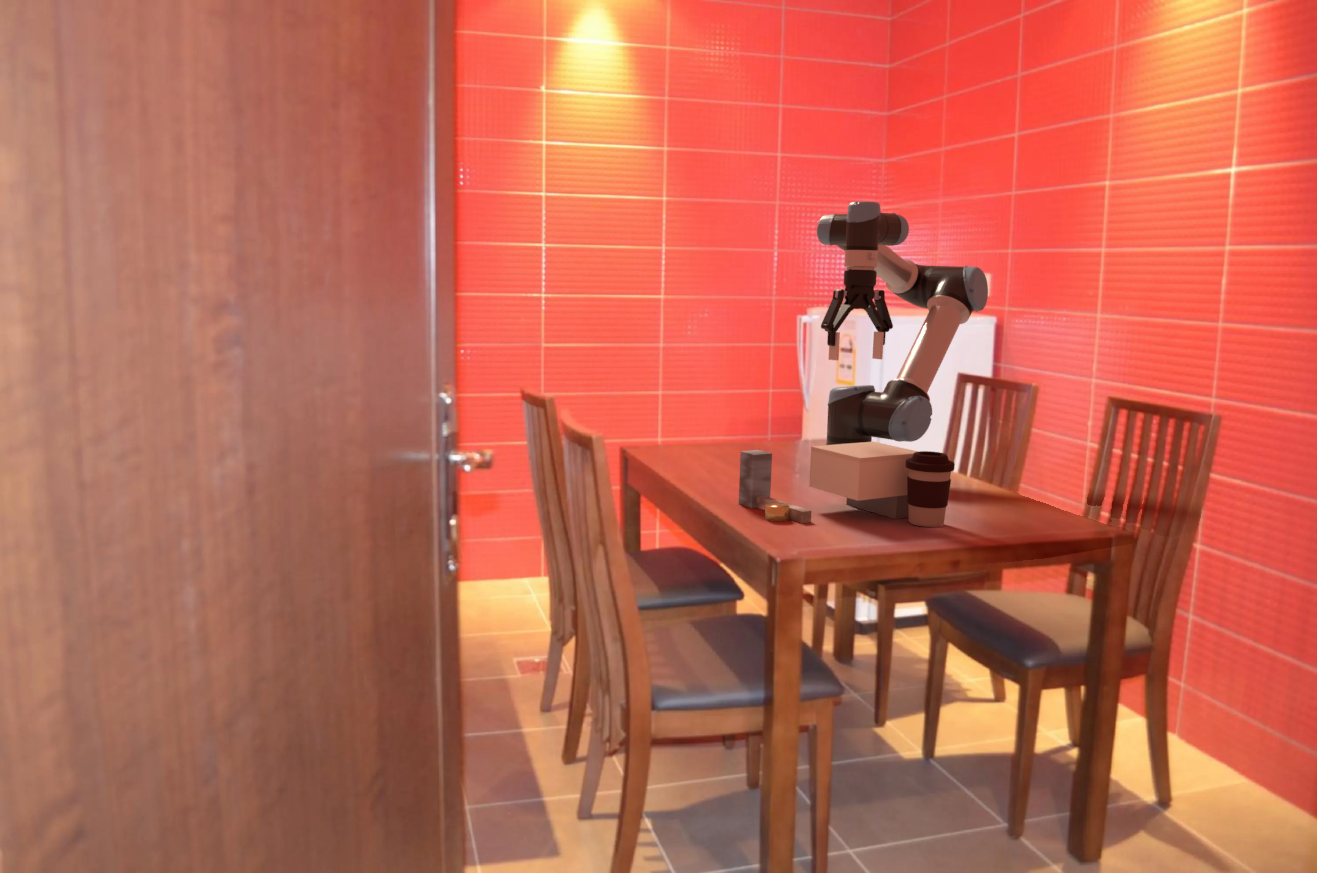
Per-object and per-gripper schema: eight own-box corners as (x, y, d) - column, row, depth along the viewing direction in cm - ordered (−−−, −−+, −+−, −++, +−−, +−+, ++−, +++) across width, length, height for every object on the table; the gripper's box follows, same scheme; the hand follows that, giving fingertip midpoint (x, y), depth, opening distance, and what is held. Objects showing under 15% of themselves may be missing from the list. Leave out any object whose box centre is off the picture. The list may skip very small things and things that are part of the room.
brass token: (760, 518, 224) (760, 504, 223) (777, 515, 227) (778, 502, 226) (775, 523, 220) (776, 509, 219) (793, 520, 223) (794, 506, 222)
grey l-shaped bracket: (738, 503, 237) (740, 451, 235) (756, 501, 240) (758, 449, 238) (797, 523, 219) (799, 467, 218) (815, 521, 222) (818, 465, 220)
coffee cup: (917, 530, 216) (921, 458, 214) (893, 519, 226) (897, 450, 224) (959, 528, 219) (964, 457, 217) (934, 517, 229) (939, 449, 226)
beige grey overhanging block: (808, 508, 234) (811, 446, 232) (869, 501, 243) (873, 441, 241) (856, 524, 220) (859, 458, 218) (919, 515, 230) (923, 452, 227)
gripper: (829, 267, 238) (824, 361, 241) (911, 270, 250) (905, 359, 254) (808, 267, 244) (804, 359, 247) (889, 270, 257) (884, 357, 260)
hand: (855, 359), depth 251 cm, fingers open, 13 cm apart
